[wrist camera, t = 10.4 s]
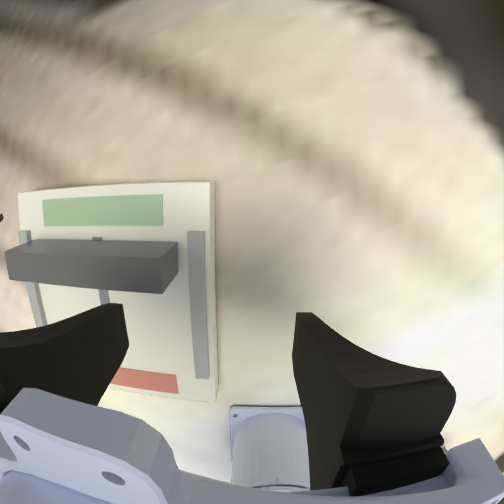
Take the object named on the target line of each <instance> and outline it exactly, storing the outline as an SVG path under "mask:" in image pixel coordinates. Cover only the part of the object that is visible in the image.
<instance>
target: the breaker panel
mask: <svg viewBox="0 0 504 504" xmlns="http://www.w3.org/2000/svg"><path fill="white" fill-rule="evenodd" d="M18 208H19V220H20V231H19V232H18V234H19V242H20V245H22V244H24V243H27V242H29V241H32V240H34V239H35V240H103V241H155V242H177V251H178V274H177V275H176V276H175V278H174V279H173V281H172V282H171V283H170V285H169V286H168V287H167V289H166V290H165V291H164V293H163V294H153V293H138V292H125V291H112V290H101V289H90V288H79V287H69V286H59V285H50V284H41V283H33V282H26V285H27V290H28V294H29V299H30V303H31V307H32V312H33V315H34V319H35V323H36V327H41V326H45V325H49V324H52V323H55V322H58V321H61V320H64V319H66V318H69V317H72V316H74V315H77V314H79V313H82V312H84V311H87V310H89V309H92V308H95V307H97V306H100V305H103V304H106V303H119V304H123V309H124V316H125V322H126V328H127V334H128V339H129V348H128V350H127V353H126V355H125V358H124V360H123V362H122V364H121V366H120V368H119V369H118V371H117V373H116V374H115V376H114V377H113V379H112V381H111V382H110V384H109V386H108V387H107V388H111V389H116V390H121V391H127V392H132V393H138V394H144V395H151V396H158V397H165V398H173V399H182V400H192V401H202V402H216V396H217V390H218V384H219V382H218V359H217V331H216V290H215V181H180V182H142V183H120V184H103V185H88V186H75V187H63V188H52V189H43V190H34V191H28V192H22V193H18Z"/></svg>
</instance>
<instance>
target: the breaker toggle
mask: <svg viewBox="0 0 504 504" xmlns="http://www.w3.org/2000/svg"><path fill="white" fill-rule="evenodd" d="M5 257H6V263H7V269H8V274H9V279H10V280H17V281H25V282H33V283H41V284H50V285H59V286H69V287H79V288H90V289H101V290H112V291H125V292H138V293H153V294H163V293H164V291H165V290H166V289H167V287H168V286H169V285H170V283H171V282H172V281H173V279H174V278H175V276H176V275H177V274H178V251H177V242H155V241H103V240H35V239H34V240H32V241H29V242H27V243H24V244H22V245H19V246H17V247H14V248H12V249H10V250H7V251H5Z"/></svg>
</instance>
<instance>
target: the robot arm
mask: <svg viewBox="0 0 504 504" xmlns="http://www.w3.org/2000/svg"><path fill="white" fill-rule="evenodd" d="M128 348H129V339H128V334H127V328H126V322H125V316H124V309H123V304H119V303H106V304H103V305H100V306H97V307H95V308H92V309H89V310H87V311H84V312H82V313H79V314H77V315H74V316H72V317H69V318H66V319H64V320H61V321H58V322H55V323H52V324H49V325H45V326H41V327H37V328H33V329H27V330H21V331H15V332H4V333H0V504H497V503H498V502H499V501H500V500H501V499H502V498H503V497H504V476H503V474H502V473H501V471H500V469H499V468H498V466H497V465H496V463H495V461H494V460H493V458H492V457H491V455H490V454H489V452H488V450H487V449H486V447H485V446H484V444H483V443H482V441H481V440H480V438H477V439H474V440H472V441H469V442H467V443H464V444H461V445H458V446H455V447H453V448H451V449H450V450H449V451H447V452H446V453H444V452H443V450H442V448H441V446H442V445H443V444H444V439H443V437H442V436H441V434H440V432H441V431H442V429H443V427H444V425H445V423H446V422H447V420H448V418H449V416H450V414H451V412H452V410H453V407H454V405H455V402H456V392H455V389H454V387H453V386H452V385H451V383H450V382H449V381H448V380H447V378H446V377H445V376H444V374H443V373H442V372H441V371H435V370H428V369H421V368H415V367H411V366H407V365H403V364H399V363H396V362H393V361H390V360H387V359H384V358H382V357H379V356H377V355H374V354H372V353H370V352H368V351H366V350H364V349H362V348H360V347H358V346H357V345H355V344H353V343H352V342H350V341H349V340H347V339H346V338H344V337H343V336H341V335H340V334H338V333H337V332H336V331H334V330H333V329H332V328H330V327H329V326H328V325H327V324H325V323H324V322H323V321H322V320H321V319H319V318H318V317H317V316H316V315H314V314H313V313H304V312H296V322H295V332H294V342H293V351H292V360H293V371H294V377H295V382H296V386H297V390H298V394H299V398H300V402H301V407H242V406H233V407H231V409H230V428H231V457H232V474H231V483H227V482H223V481H219V480H214V479H210V478H207V477H203V476H199V475H195V474H192V473H188V472H185V471H182V470H179V469H178V467H177V465H176V462H175V459H174V455H173V451H172V449H171V447H170V446H169V445H168V443H167V442H166V440H165V438H164V437H163V435H162V434H161V433H160V432H158V431H157V430H156V429H154V428H153V427H151V426H150V425H148V424H147V423H146V422H144V421H143V420H142V419H139V418H136V417H133V416H131V415H128V414H125V413H123V412H120V411H115V410H111V409H106V408H102V407H98V406H97V405H98V403H99V401H100V399H101V397H102V396H103V394H104V392H105V391H106V389H107V387H108V386H109V384H110V382H111V381H112V379H113V377H114V376H115V374H116V373H117V371H118V369H119V368H120V366H121V364H122V362H123V360H124V358H125V355H126V353H127V350H128ZM234 414H237V415H234Z"/></svg>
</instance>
